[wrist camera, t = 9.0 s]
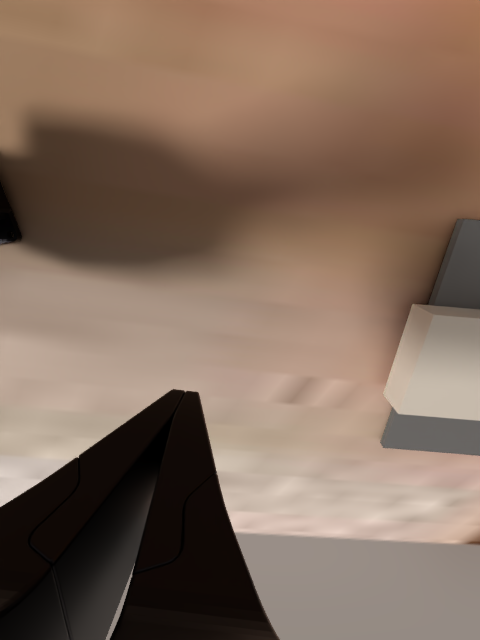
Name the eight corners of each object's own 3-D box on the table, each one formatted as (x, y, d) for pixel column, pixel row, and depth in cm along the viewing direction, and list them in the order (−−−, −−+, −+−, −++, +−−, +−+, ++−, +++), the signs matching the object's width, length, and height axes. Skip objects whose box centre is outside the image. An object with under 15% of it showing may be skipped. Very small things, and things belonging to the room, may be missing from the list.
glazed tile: (398, 414, 20) (529, 424, 20) (433, 314, 17) (587, 327, 17) (381, 392, 23) (498, 401, 23) (410, 302, 20) (543, 313, 20)
